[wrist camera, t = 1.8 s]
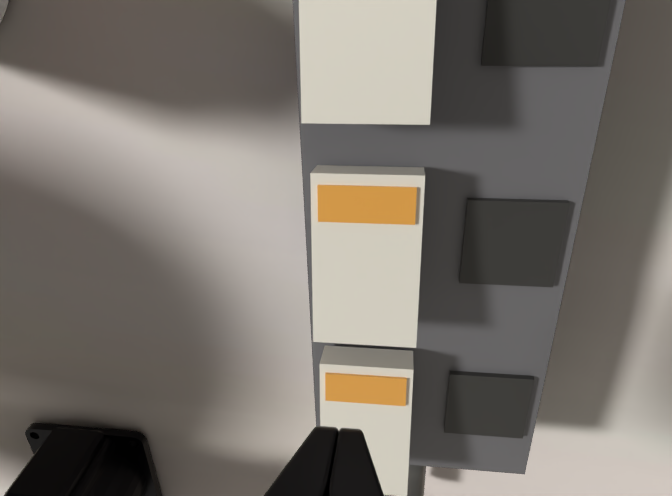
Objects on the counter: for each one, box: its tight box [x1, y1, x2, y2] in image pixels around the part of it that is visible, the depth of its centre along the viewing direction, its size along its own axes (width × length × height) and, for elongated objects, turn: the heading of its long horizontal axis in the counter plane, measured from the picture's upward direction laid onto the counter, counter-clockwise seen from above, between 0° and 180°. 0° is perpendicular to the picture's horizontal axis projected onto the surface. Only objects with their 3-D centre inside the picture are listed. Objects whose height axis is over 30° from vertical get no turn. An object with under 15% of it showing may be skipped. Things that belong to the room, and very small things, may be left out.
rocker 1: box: [299, 0, 437, 125], centre depth 12 cm, size 5×3×1 cm, turn 1°
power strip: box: [293, 0, 626, 496], centre depth 19 cm, size 25×8×4 cm, turn 1°
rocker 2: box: [310, 165, 425, 348], centre depth 15 cm, size 5×3×1 cm, turn 1°
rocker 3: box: [319, 346, 414, 496], centre depth 19 cm, size 5×3×1 cm, turn 2°
